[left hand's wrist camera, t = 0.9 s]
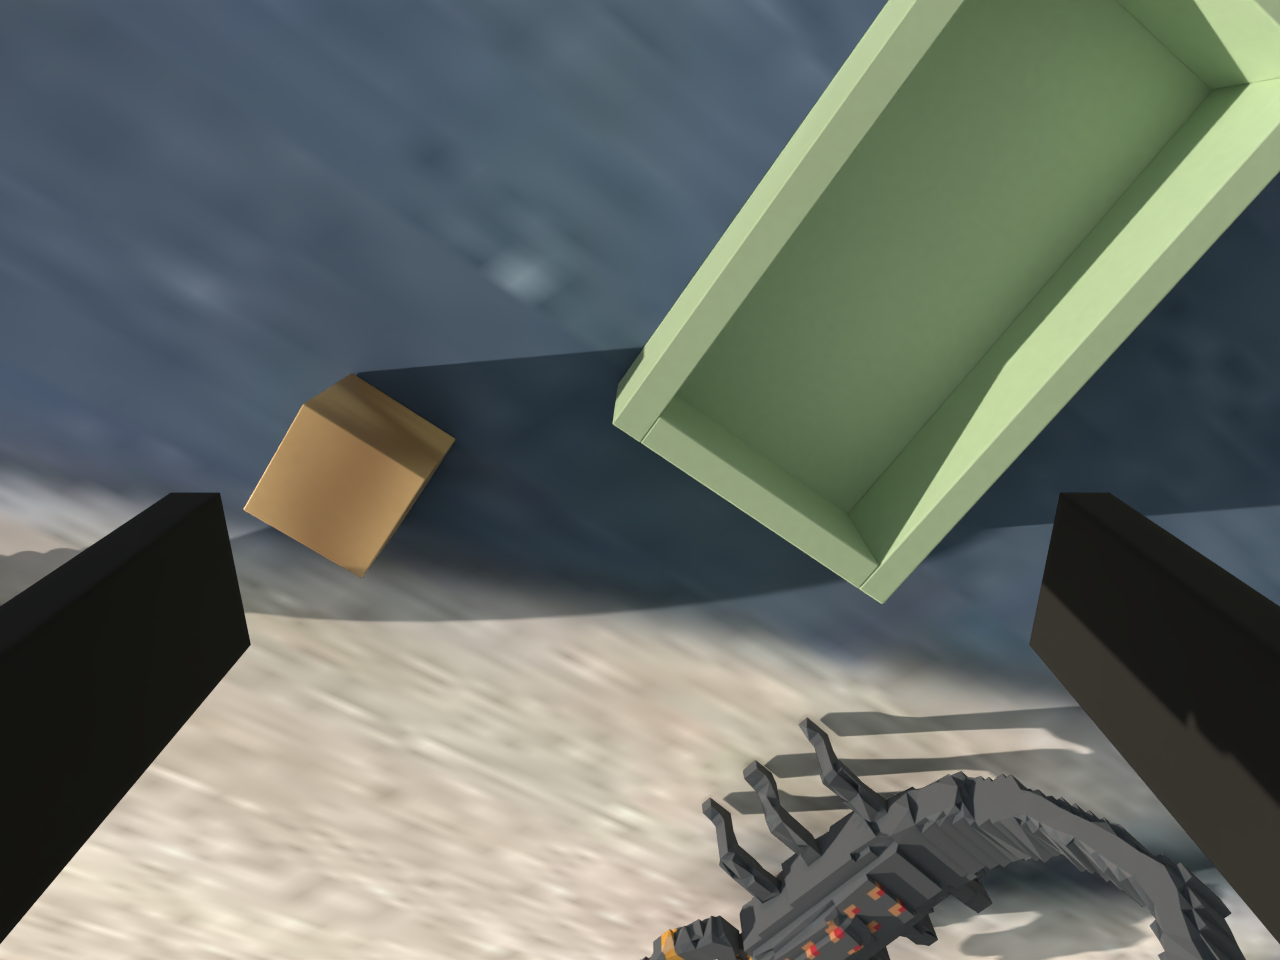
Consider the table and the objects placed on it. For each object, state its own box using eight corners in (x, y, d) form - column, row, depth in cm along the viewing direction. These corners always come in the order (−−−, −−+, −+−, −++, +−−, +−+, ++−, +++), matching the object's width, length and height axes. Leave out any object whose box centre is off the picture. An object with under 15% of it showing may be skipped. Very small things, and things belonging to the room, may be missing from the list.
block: (297, 465, 34) (242, 509, 30) (352, 372, 33) (303, 403, 28) (399, 526, 35) (361, 579, 31) (456, 438, 34) (425, 479, 29)
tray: (617, 384, 33) (611, 423, 27) (995, -152, 26) (1086, -240, 21) (846, 541, 35) (883, 605, 30) (1244, 84, 29) (1383, 60, 23)
